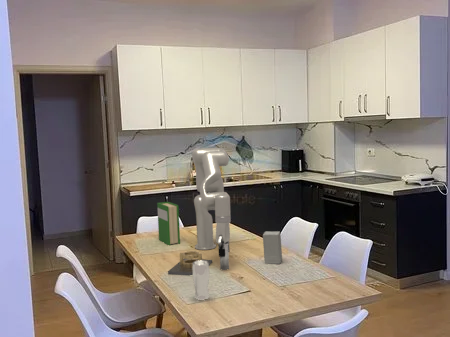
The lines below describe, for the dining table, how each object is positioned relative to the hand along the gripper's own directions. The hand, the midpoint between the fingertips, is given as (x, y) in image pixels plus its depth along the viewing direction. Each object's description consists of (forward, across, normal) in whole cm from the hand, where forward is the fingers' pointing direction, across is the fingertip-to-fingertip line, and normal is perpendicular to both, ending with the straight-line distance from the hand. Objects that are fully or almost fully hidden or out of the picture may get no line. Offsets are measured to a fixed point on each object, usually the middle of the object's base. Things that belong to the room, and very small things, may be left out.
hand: (224, 254), depth 224 cm
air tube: (+7, 0, 0) cm, 7 cm away
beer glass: (+8, +40, +1) cm, 41 cm away
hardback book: (+8, -48, -49) cm, 69 cm away
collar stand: (+7, +2, -17) cm, 19 cm away
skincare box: (+8, -14, +22) cm, 27 cm away
